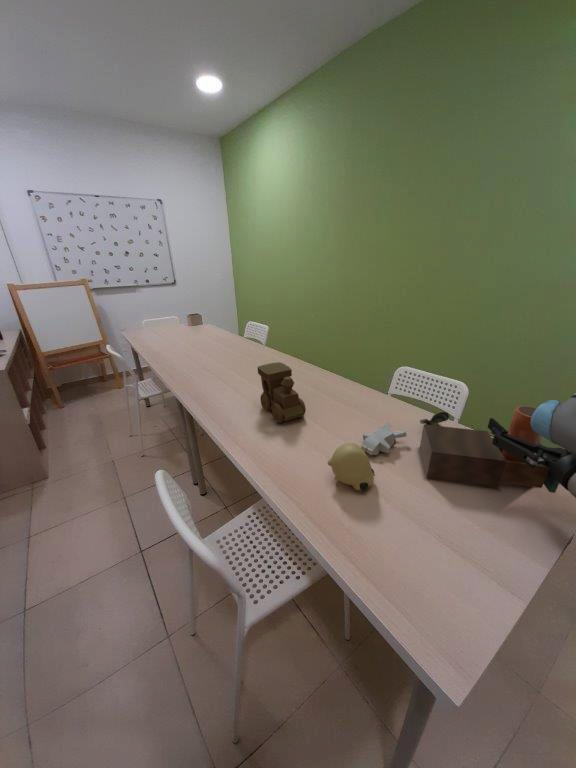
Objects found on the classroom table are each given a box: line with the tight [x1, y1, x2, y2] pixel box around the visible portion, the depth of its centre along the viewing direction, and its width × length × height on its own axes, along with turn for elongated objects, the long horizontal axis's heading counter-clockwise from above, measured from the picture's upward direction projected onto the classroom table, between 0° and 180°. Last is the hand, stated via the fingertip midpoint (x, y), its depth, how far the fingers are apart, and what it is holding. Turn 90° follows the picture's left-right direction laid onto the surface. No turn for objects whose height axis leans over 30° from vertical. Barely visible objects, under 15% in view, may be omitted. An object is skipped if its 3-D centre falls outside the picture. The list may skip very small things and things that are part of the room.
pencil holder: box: [501, 405, 543, 462], centre depth 76 cm, size 7×7×17 cm
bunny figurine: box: [360, 422, 407, 456], centre depth 92 cm, size 10×5×15 cm
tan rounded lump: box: [327, 442, 376, 492], centre depth 77 cm, size 10×12×11 cm
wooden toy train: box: [257, 361, 307, 424], centre depth 111 cm, size 20×11×17 cm, turn 29°
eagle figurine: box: [419, 411, 450, 426], centre depth 99 cm, size 8×7×9 cm
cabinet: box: [419, 424, 507, 490], centre depth 81 cm, size 17×14×9 cm
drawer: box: [492, 437, 560, 494], centre depth 78 cm, size 17×12×7 cm
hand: (517, 423), depth 77 cm, fingers open, 13 cm apart
